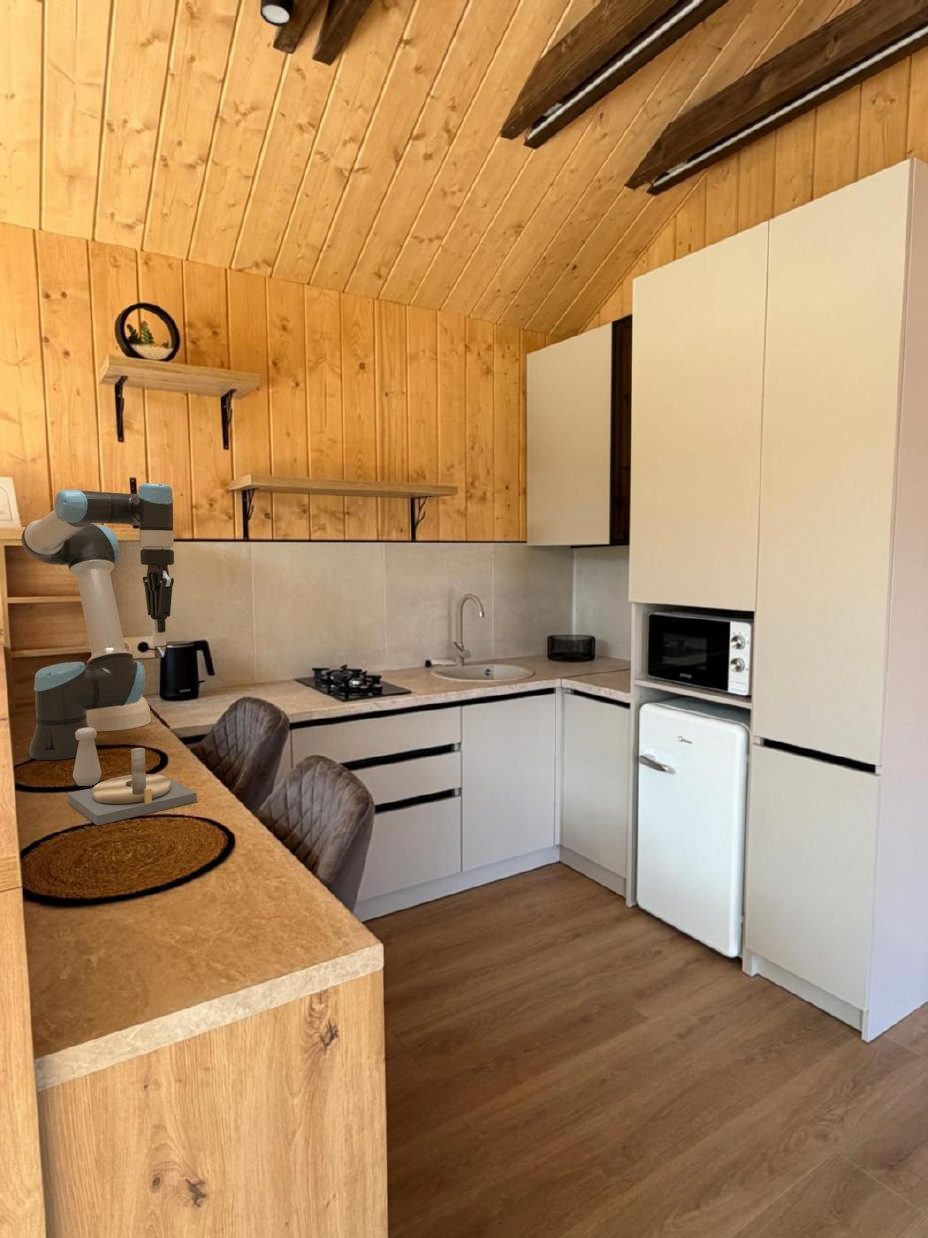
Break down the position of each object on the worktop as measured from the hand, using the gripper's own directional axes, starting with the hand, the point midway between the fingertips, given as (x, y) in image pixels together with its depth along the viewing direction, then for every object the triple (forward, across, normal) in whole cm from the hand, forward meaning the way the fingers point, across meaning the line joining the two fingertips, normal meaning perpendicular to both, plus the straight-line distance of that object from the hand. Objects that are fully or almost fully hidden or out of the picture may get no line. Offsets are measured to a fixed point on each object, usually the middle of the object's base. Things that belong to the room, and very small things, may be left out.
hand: (159, 645), depth 177 cm
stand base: (+30, -21, +15) cm, 40 cm away
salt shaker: (+31, -2, +18) cm, 36 cm away
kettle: (+31, +55, -8) cm, 64 cm away
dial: (+28, -21, +15) cm, 38 cm away
